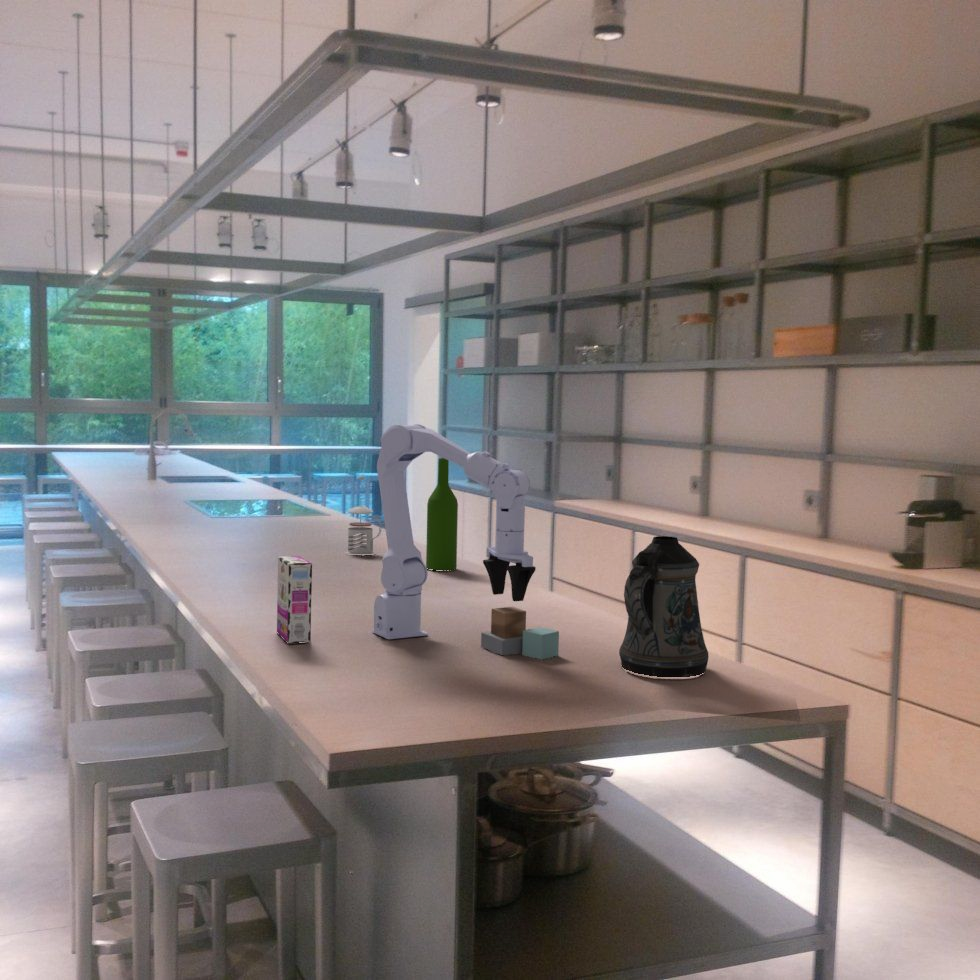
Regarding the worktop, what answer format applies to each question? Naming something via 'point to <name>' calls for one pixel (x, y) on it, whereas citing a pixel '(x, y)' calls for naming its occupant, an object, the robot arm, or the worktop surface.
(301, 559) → the candy bar box
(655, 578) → the beer stein
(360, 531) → the french press
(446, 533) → the wine bottle
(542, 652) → the teal cube
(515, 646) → the base block
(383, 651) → the worktop surface
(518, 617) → the walnut cube
